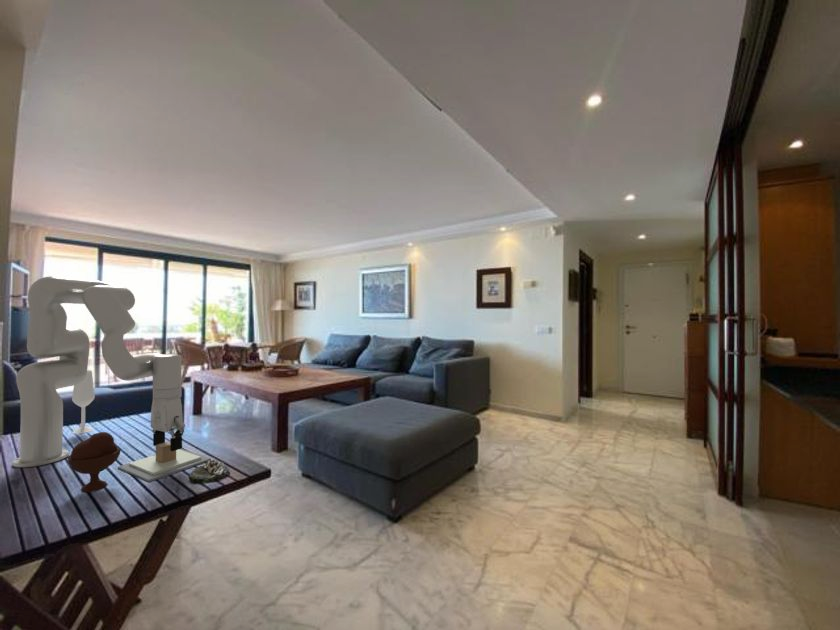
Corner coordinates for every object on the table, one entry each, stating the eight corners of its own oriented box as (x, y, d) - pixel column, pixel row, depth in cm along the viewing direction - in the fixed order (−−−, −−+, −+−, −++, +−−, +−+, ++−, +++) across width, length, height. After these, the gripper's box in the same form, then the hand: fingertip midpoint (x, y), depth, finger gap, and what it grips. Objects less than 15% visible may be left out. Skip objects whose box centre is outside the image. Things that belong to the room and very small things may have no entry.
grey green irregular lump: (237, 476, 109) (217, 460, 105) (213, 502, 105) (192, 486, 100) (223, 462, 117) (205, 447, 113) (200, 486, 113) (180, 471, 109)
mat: (117, 468, 112) (117, 466, 112) (179, 449, 128) (179, 448, 128) (148, 482, 104) (149, 479, 104) (210, 460, 120) (210, 458, 120)
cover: (128, 465, 113) (129, 446, 113) (176, 451, 125) (177, 434, 125) (153, 475, 106) (153, 455, 106) (201, 459, 119) (201, 441, 119)
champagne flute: (66, 433, 143) (67, 372, 143) (82, 428, 149) (83, 369, 149) (83, 433, 143) (84, 372, 143) (98, 428, 149) (99, 370, 149)
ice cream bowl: (114, 475, 108) (115, 424, 108) (123, 486, 101) (124, 432, 101) (64, 487, 99) (65, 432, 99) (71, 501, 92) (72, 442, 92)
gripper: (139, 392, 117) (139, 446, 117) (169, 398, 108) (170, 456, 108) (165, 388, 123) (165, 439, 123) (195, 393, 115) (195, 448, 115)
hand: (167, 447), depth 116 cm, fingers open, 9 cm apart
